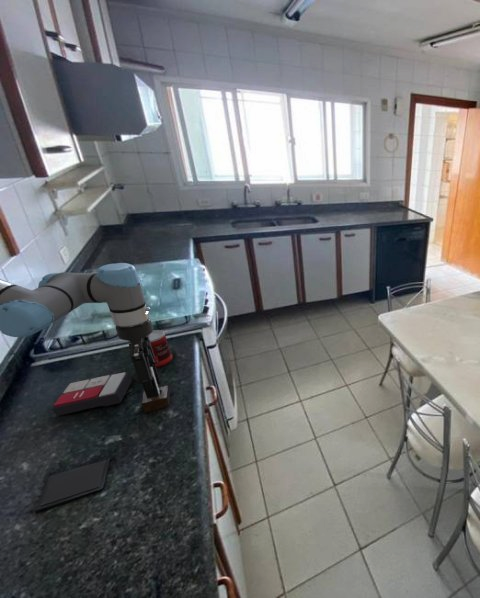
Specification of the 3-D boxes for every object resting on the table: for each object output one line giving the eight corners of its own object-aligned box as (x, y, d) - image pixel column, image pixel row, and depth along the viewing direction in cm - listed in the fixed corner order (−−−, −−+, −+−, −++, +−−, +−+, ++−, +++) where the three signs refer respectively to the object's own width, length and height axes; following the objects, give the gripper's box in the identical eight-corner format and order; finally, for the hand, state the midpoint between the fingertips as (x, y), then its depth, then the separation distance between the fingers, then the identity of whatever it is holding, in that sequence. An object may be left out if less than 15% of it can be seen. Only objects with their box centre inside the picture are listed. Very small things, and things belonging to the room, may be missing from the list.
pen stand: (144, 414, 95) (141, 403, 93) (147, 401, 100) (143, 390, 98) (169, 407, 98) (166, 397, 96) (170, 395, 103) (167, 385, 101)
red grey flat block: (68, 382, 100) (127, 369, 104) (75, 392, 102) (132, 380, 106) (49, 406, 90) (114, 391, 95) (57, 418, 92) (120, 403, 97)
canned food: (148, 358, 118) (138, 332, 113) (174, 353, 122) (165, 327, 117) (144, 370, 112) (133, 344, 107) (172, 364, 116) (162, 338, 111)
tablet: (35, 513, 69) (34, 510, 69) (50, 478, 76) (48, 475, 76) (103, 491, 74) (102, 488, 74) (111, 460, 81) (109, 457, 81)
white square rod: (153, 407, 98) (142, 372, 92) (154, 403, 99) (143, 368, 94) (162, 405, 99) (151, 370, 93) (162, 401, 100) (152, 366, 95)
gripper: (146, 334, 82) (167, 406, 91) (153, 305, 96) (170, 369, 105) (107, 341, 78) (134, 415, 88) (120, 309, 92) (142, 376, 102)
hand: (154, 390), depth 97 cm, fingers open, 5 cm apart
